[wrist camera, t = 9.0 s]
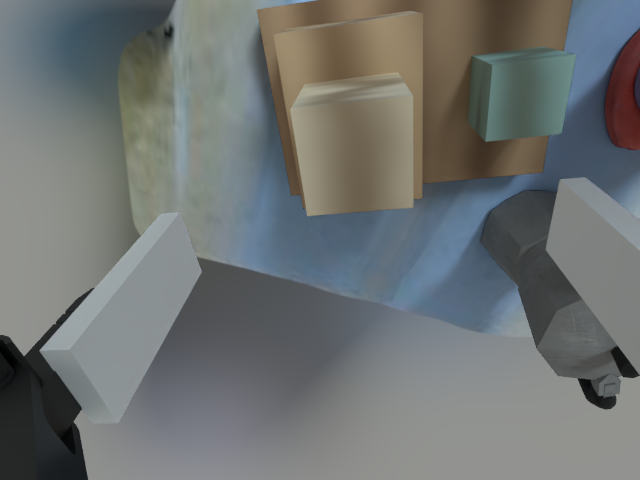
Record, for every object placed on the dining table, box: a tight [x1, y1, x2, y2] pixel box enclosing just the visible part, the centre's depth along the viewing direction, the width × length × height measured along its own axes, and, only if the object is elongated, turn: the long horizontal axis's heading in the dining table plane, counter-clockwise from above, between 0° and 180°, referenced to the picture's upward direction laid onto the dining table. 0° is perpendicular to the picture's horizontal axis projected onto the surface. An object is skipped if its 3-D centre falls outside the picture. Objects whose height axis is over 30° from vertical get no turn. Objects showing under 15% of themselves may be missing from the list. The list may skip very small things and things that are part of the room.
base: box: [257, 0, 576, 209], centre depth 30 cm, size 22×15×9 cm
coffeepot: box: [480, 190, 640, 409], centre depth 33 cm, size 15×9×18 cm, turn 18°
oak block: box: [290, 73, 414, 216], centre depth 24 cm, size 6×6×7 cm
